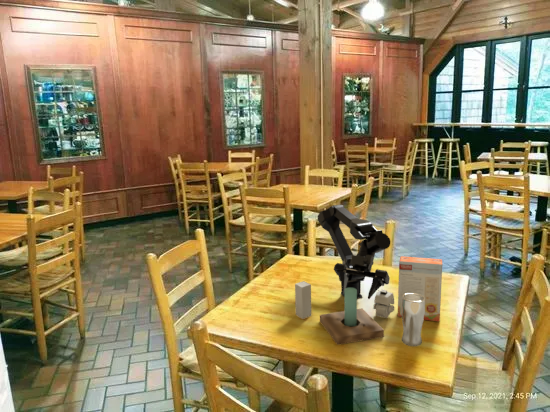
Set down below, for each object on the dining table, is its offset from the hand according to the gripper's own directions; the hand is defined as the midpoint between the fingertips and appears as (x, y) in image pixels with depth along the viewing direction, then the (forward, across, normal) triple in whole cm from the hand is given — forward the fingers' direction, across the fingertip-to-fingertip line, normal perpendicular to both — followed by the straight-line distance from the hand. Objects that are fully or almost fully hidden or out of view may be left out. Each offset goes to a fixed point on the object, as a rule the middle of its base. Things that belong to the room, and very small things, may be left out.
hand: (355, 296), depth 149 cm
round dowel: (+11, 0, +3) cm, 11 cm away
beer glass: (+10, +20, +4) cm, 23 cm away
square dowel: (+9, -18, +4) cm, 21 cm away
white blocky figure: (+2, +8, +12) cm, 15 cm away
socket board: (+11, 0, +3) cm, 11 cm away
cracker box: (-3, +18, +16) cm, 25 cm away
